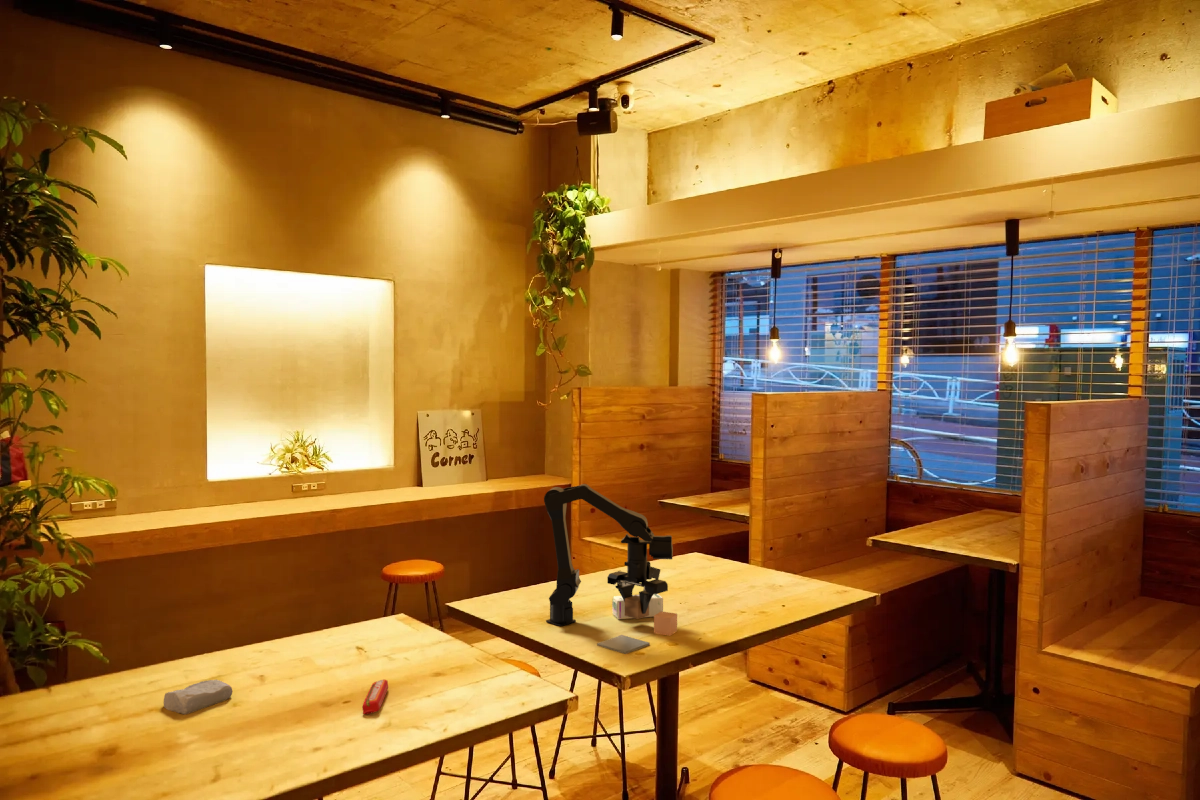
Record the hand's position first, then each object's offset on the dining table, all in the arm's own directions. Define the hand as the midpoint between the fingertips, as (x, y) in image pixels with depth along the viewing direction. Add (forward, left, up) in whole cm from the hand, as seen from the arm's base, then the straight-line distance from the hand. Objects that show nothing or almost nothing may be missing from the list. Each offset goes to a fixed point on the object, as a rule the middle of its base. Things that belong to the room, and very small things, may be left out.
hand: (636, 611), depth 237 cm
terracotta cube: (+10, +1, -4) cm, 11 cm away
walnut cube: (0, 0, -1) cm, 1 cm away
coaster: (+9, -16, -4) cm, 19 cm away
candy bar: (-6, -83, -4) cm, 83 cm away
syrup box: (-2, +14, -1) cm, 14 cm away
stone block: (-34, -110, -4) cm, 115 cm away
